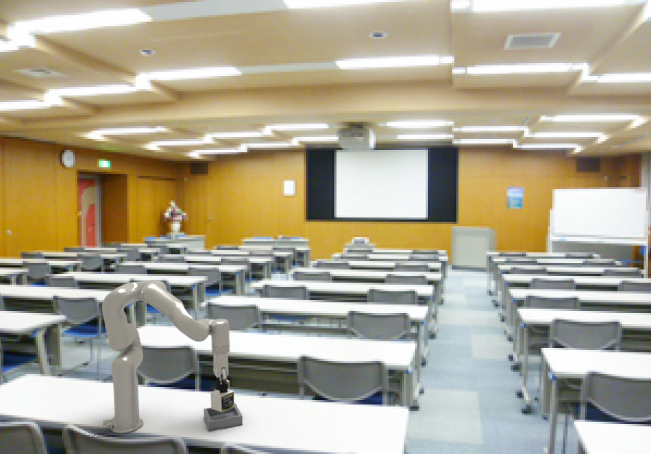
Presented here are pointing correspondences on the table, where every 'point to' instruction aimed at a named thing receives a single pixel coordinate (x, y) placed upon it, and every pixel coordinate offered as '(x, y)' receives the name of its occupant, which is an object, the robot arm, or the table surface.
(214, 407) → the medicine bottle
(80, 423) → the table surface
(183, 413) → the table surface
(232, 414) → the box
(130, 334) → the robot arm
